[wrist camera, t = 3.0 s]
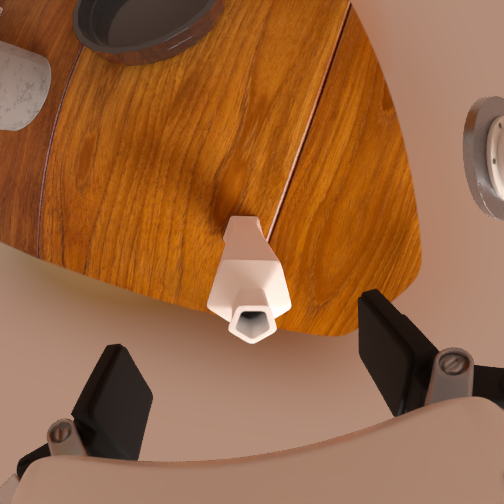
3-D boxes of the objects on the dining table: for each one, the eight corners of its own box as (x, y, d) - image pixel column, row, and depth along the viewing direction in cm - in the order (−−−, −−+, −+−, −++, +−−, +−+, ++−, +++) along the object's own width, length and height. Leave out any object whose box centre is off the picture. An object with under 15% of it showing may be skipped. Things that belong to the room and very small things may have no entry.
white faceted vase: (250, 199, 25) (267, 254, 11) (275, 237, 27) (317, 327, 13) (208, 227, 26) (178, 311, 12) (235, 263, 27) (236, 372, 13)
